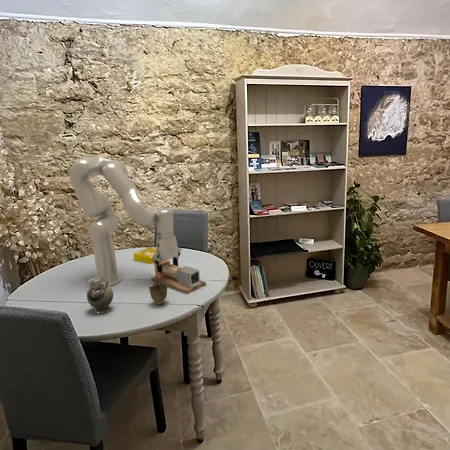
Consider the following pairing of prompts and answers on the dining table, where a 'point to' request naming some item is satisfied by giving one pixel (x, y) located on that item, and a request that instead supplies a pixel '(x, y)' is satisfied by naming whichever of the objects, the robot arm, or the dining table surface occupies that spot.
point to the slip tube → (170, 270)
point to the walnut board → (176, 284)
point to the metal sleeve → (188, 277)
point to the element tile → (145, 255)
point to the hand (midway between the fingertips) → (167, 269)
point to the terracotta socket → (159, 272)
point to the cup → (158, 292)
